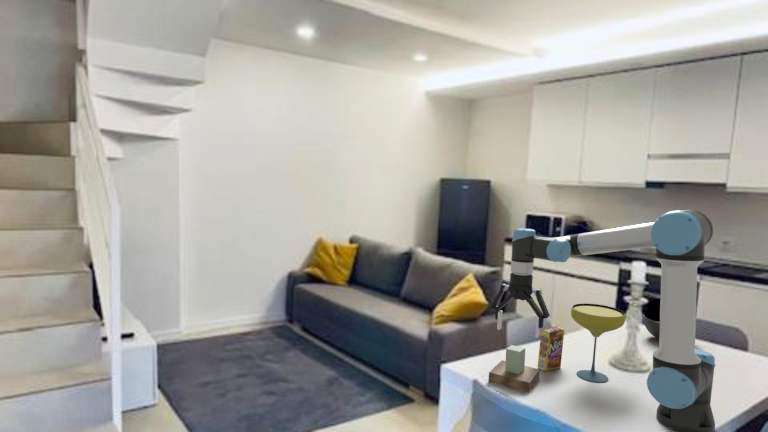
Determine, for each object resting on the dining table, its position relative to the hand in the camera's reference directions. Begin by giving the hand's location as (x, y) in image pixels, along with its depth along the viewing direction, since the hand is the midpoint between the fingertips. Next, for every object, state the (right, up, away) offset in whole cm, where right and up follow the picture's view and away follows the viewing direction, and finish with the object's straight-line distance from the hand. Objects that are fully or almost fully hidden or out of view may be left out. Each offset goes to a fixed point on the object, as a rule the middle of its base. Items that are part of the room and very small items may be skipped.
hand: (518, 332), depth 176 cm
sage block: (-1, -14, +2) cm, 14 cm away
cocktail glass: (+30, -18, +8) cm, 36 cm away
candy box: (+16, -17, +15) cm, 28 cm away
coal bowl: (+82, -16, +54) cm, 100 cm away
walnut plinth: (-1, -18, +2) cm, 18 cm away
